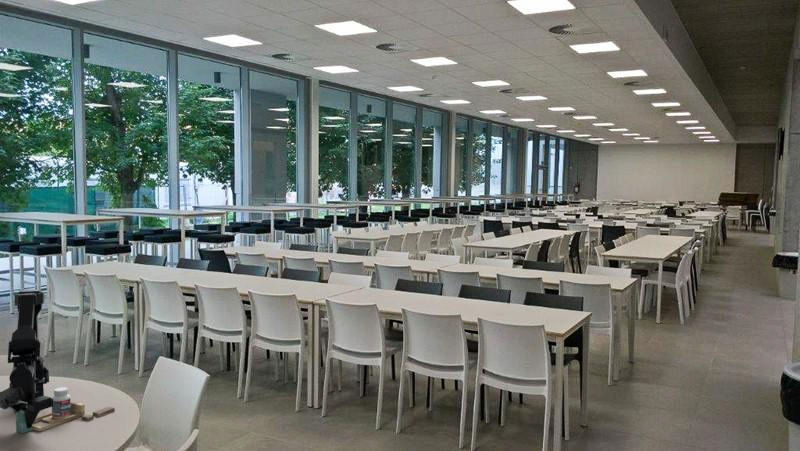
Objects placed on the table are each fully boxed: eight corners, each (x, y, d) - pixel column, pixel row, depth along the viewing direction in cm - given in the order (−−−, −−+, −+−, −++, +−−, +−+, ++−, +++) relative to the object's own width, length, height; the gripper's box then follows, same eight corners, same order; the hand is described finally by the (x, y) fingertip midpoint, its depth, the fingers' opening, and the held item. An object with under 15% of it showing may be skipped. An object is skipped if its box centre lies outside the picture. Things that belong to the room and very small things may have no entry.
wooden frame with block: (9, 429, 193) (9, 410, 192) (66, 409, 210) (65, 392, 209) (28, 435, 189) (28, 415, 188) (84, 414, 206) (84, 396, 205)
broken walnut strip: (81, 419, 202) (81, 416, 202) (108, 409, 211) (108, 406, 211) (88, 420, 201) (88, 417, 201) (114, 410, 210) (114, 408, 210)
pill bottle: (62, 420, 200) (61, 392, 199) (48, 418, 201) (47, 391, 201) (74, 414, 205) (73, 387, 205) (60, 412, 206) (60, 385, 206)
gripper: (-22, 379, 188) (-21, 430, 189) (18, 389, 180) (19, 442, 181) (15, 369, 198) (16, 418, 199) (54, 379, 190) (55, 429, 191)
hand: (25, 426), depth 192 cm, fingers closed on wooden frame with block, 3 cm apart
